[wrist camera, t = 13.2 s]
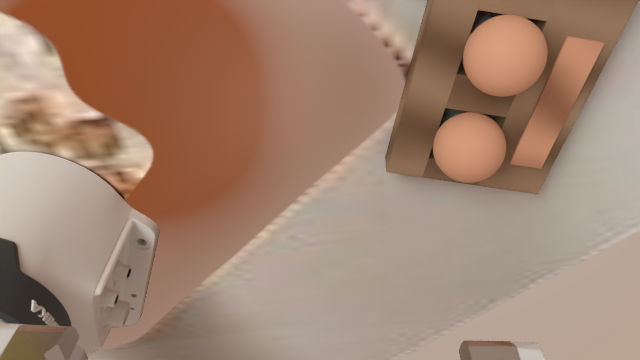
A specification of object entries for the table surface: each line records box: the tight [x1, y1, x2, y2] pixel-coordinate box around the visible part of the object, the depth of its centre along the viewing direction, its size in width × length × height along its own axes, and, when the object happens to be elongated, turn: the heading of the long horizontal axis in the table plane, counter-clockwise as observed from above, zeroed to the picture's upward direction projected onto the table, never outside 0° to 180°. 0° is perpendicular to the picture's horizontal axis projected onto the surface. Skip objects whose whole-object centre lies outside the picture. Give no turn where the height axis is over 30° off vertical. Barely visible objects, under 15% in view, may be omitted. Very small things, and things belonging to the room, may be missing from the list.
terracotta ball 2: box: [433, 112, 506, 183], centre depth 37 cm, size 5×5×5 cm
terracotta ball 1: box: [463, 15, 548, 97], centre depth 33 cm, size 5×5×5 cm
